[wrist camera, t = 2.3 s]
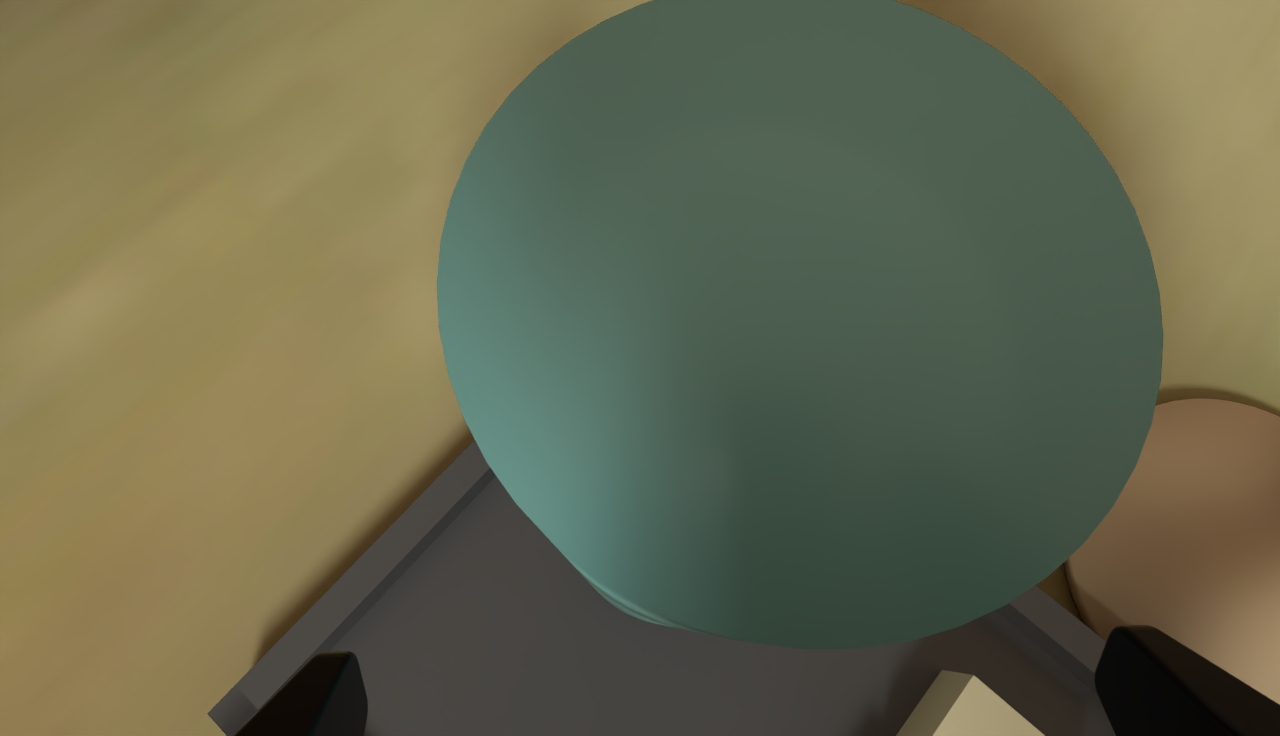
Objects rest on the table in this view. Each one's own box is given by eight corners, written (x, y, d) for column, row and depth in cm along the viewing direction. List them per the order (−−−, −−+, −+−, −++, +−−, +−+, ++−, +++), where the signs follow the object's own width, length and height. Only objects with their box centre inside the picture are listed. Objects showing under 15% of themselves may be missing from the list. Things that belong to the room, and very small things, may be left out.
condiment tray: (1181, 730, 19) (1251, 744, 17) (822, 1348, 15) (853, 1464, 13) (641, 289, 22) (643, 255, 20) (238, 706, 19) (190, 717, 17)
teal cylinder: (815, 508, 20) (1289, 242, 6) (684, 673, 19) (884, 850, 4) (661, 378, 21) (745, -117, 7) (526, 526, 20) (281, 291, 6)
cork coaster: (1456, 549, 21) (1472, 548, 20) (1310, 835, 18) (1324, 839, 18) (1163, 341, 22) (1173, 336, 22) (997, 579, 20) (1004, 579, 20)
